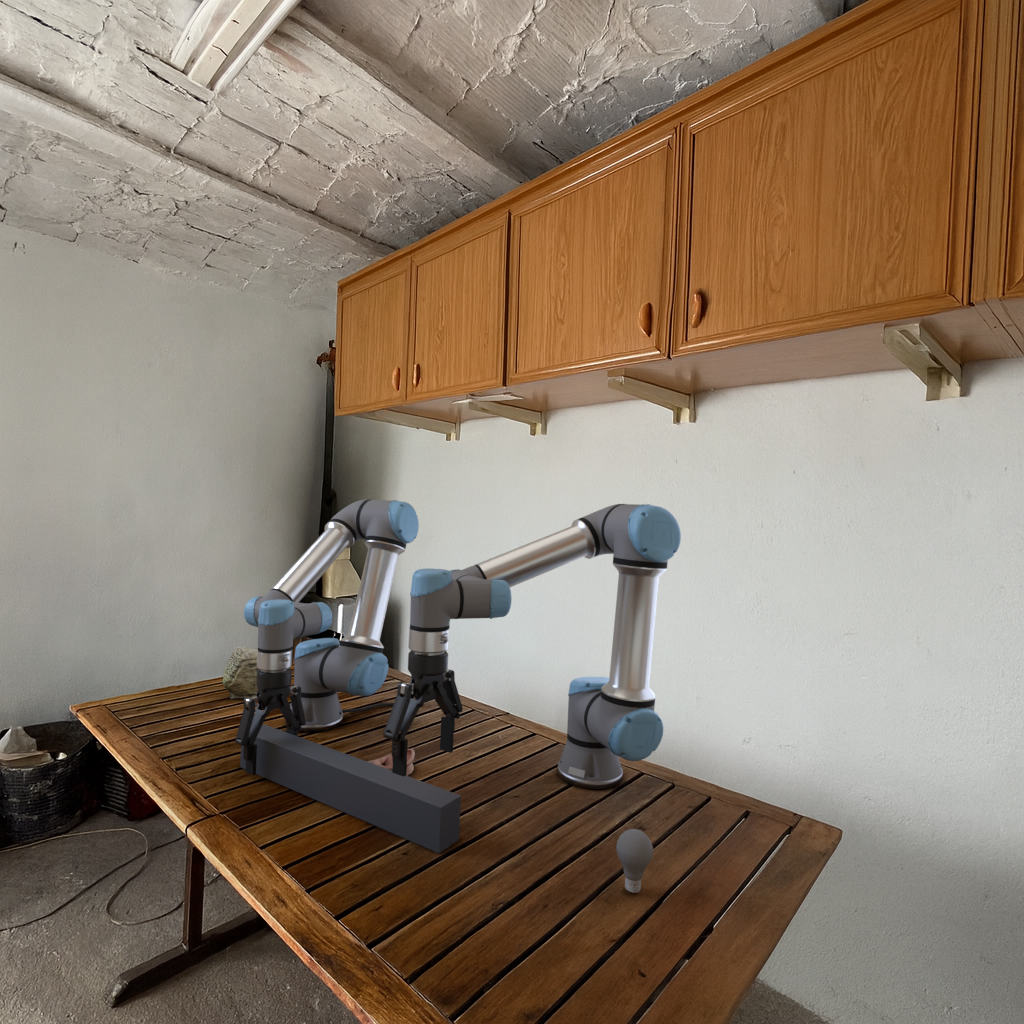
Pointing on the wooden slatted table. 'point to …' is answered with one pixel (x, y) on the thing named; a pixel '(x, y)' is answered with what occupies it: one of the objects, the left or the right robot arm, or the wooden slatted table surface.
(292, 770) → the bar
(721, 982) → the wooden slatted table surface
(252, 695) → the fossil
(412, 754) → the anatomical model
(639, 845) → the light bulb
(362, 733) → the wooden slatted table surface
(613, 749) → the right robot arm
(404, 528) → the left robot arm
